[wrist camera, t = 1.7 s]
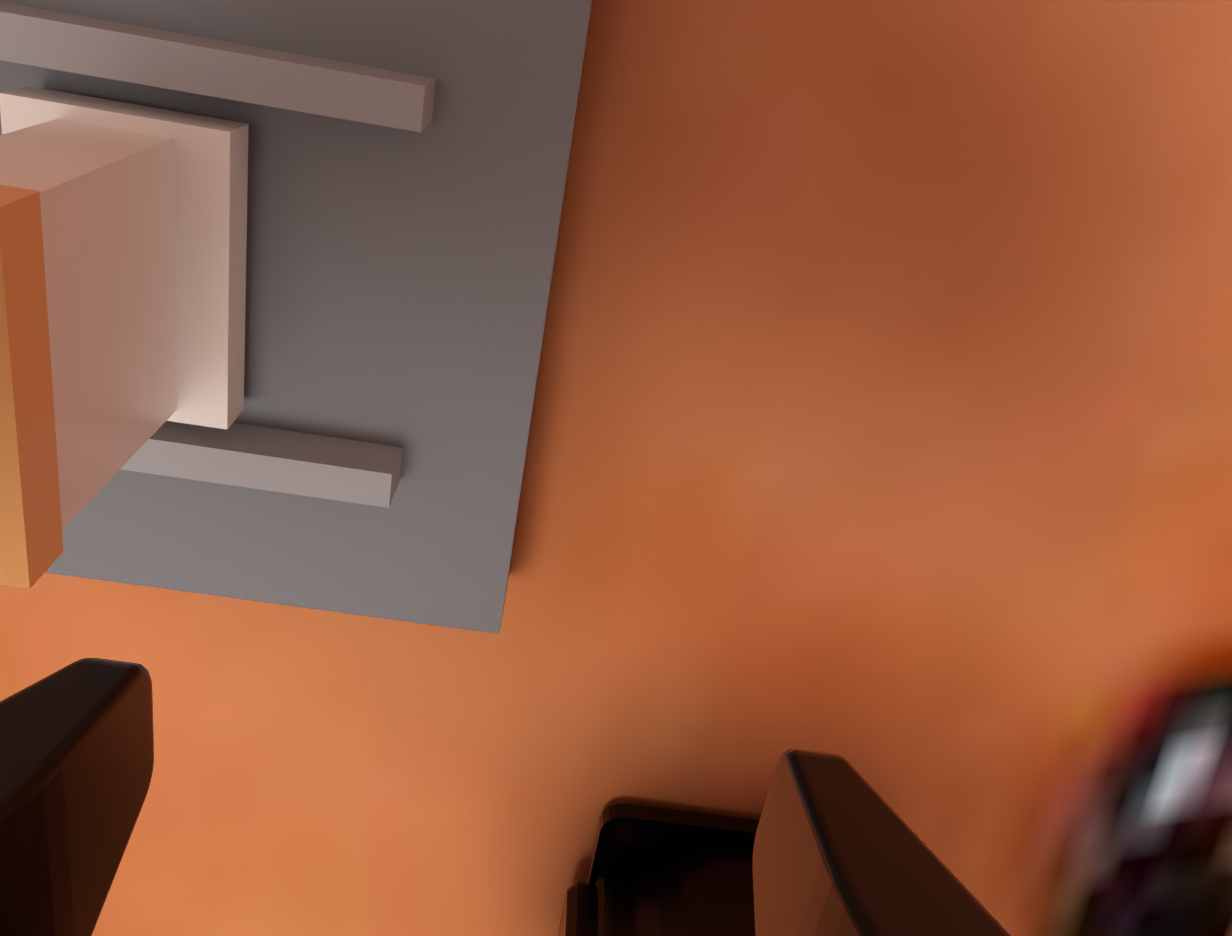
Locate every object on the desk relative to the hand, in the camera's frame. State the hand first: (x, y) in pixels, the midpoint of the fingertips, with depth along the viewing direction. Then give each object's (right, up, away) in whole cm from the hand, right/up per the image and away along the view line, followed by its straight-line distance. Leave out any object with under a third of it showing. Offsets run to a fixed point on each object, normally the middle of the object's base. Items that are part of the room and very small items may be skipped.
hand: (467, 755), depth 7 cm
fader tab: (-6, +5, +8) cm, 11 cm away
